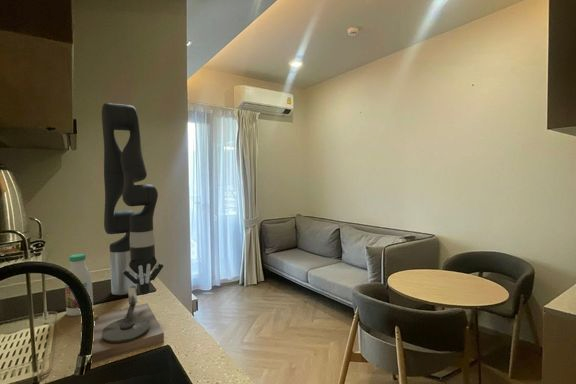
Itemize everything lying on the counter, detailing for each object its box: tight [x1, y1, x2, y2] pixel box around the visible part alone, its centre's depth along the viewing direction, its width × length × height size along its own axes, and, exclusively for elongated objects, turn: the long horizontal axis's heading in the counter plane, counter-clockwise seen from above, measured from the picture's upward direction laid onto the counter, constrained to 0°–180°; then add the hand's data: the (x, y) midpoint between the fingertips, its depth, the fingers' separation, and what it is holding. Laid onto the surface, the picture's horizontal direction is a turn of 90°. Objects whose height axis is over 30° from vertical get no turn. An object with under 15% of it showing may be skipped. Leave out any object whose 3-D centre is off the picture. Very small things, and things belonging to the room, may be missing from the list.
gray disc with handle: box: [102, 286, 150, 344], centre depth 90 cm, size 22×12×8 cm, turn 21°
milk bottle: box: [64, 253, 94, 317], centre depth 104 cm, size 8×8×20 cm
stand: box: [92, 303, 165, 364], centre depth 89 cm, size 24×18×4 cm
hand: (144, 293), depth 102 cm, fingers closed
